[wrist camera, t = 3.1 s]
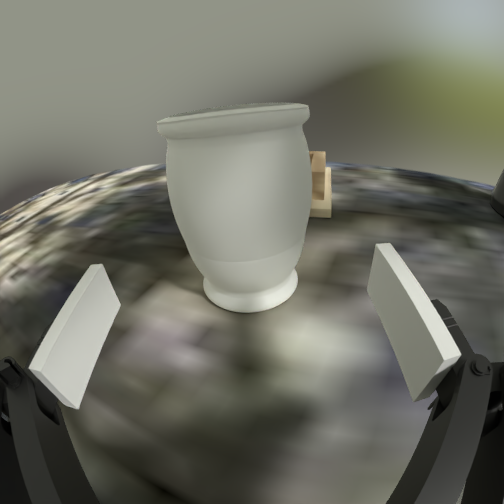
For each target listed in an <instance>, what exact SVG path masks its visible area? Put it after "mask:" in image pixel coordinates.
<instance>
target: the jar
mask: <svg viewBox="0 0 504 504" xmlns="http://www.w3.org/2000/svg"><path fill="white" fill-rule="evenodd" d="M308 107H309V106H308V105H303V104H297V103H255V104H242V105H232V106H223V107H215V108H209V109H203V110H197V111H191V112H186V113H182V114H177V115H173V116H170V117H167V118H165V119H162V120H160V121H157V122H156V123H157V124H158V125H157V131H158V133H159V134H160V135H161V136H163V137H165V138H167V143H168V147H167V156H166V175H167V186H168V193H169V198H170V203H171V207H172V211H173V214H174V217H175V220H176V223H177V225H178V228H179V230H180V232H181V235H182V237H183V239H184V241H185V243H186V246H187V249H188V251H189V254H190V256H191V258H192V260H193V262H194V263H195V265H196V267H197V268H198V269H199V271H200V272H201V273H202V275H203V276H204V280H203V287H204V291H205V293H206V295H207V297H208V298H209V299H210V300H211V301H212V302H213V303H215V304H216V305H218V306H219V307H222V308H224V309H227V310H230V311H235V312H244V313H251V312H260V311H264V310H268V309H271V308H273V307H276V306H278V305H280V304H281V303H283V302H284V301H286V300H287V299H288V298H289V297H290V296H291V295H292V294H293V292H294V291H295V289H296V286H297V282H298V277H297V272H296V270H295V266H296V264H297V262H298V260H299V258H300V256H301V253H302V249H303V245H304V241H305V235H306V227H307V223H308V219H309V215H310V209H311V201H312V171H311V162H310V156H309V150H308V146H307V143H306V139H305V136H304V134H303V130H302V124H303V123H304V122H306V121H307V119H308V118H309V116H310V111H309V108H308Z"/></svg>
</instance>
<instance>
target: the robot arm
mask: <svg viewBox="0 0 504 504" xmlns="http://www.w3.org/2000/svg"><path fill="white" fill-rule="evenodd" d="M490 204H491V205H492V207H493V208H494V209H495V210H496V211H497V212H498V213H499V214H501V215H502V216H503V217H504V170H503V171H502V174H501V176H500V178H499V180H498V182H497V184H496V186H495V188H494V189H493V191H492V195H491V199H490ZM367 292H368V294H369V296H370V298H371V300H372V302H373V304H374V307H375V309H376V311H377V313H378V315H379V318H380V320H381V322H382V324H383V327H384V329H385V331H386V333H387V336H388V338H389V341H390V343H391V345H392V348H393V350H394V353H395V355H396V358H397V360H398V363H399V365H400V368H401V370H402V373H403V376H404V378H405V381H406V384H407V386H408V389H409V392H410V395H411V397H412V400H413V402H416V401H419V400H422V399H425V398H428V397H430V396H431V394H432V393H433V392H434V391H435V389H436V391H437V393H438V396H437V397H436V399H435V400H434V401H433V402H432V403H431V404H430V406H429V407H428V410H430V409H431V408H432V407H433V408H432V411H431V414H430V416H429V419H428V422H427V424H426V427H425V429H424V432H423V434H422V436H421V439H420V441H419V443H418V445H417V448H416V450H415V452H414V454H413V456H412V458H411V460H410V462H409V464H408V466H407V468H406V470H405V472H404V474H403V476H402V477H401V479H400V481H399V483H398V485H397V486H396V488H395V490H394V491H393V493H392V495H391V496H390V498H389V500H388V501H387V503H386V504H456V502H457V500H458V498H459V496H460V494H461V491H462V489H463V487H464V484H465V482H466V484H465V488H464V493H463V497H462V501H461V504H504V362H497V363H490V361H489V360H488V359H487V358H486V357H484V356H483V355H480V354H475V353H474V352H473V350H472V349H471V347H470V345H469V343H468V342H467V340H466V338H465V336H464V335H463V333H462V331H461V330H460V328H459V326H457V323H456V321H455V320H454V318H452V315H451V313H450V312H449V310H448V309H447V307H446V306H445V305H443V304H442V303H441V302H440V301H439V300H437V299H436V300H431V301H430V300H429V298H428V296H427V295H426V293H425V292H424V290H423V289H422V287H421V286H420V284H419V283H418V281H417V280H416V278H415V277H414V276H413V274H412V273H411V271H410V270H409V268H408V267H407V266H406V264H405V263H404V261H403V260H402V259H401V257H400V256H399V255H398V253H397V252H396V250H395V249H394V248H393V246H392V245H391V244H390V243H383V244H376V245H375V251H374V257H373V262H372V267H371V272H370V277H369V282H368V287H367ZM120 306H121V304H120V302H119V300H118V298H117V296H116V294H115V291H114V289H113V287H112V285H111V283H110V280H109V278H108V276H107V273H106V271H105V269H104V266H103V264H94V265H90V267H89V268H88V270H87V271H86V273H85V274H84V275H83V277H82V278H81V280H80V281H79V283H78V284H77V286H76V287H75V289H74V290H73V292H72V293H71V295H70V296H69V298H68V299H67V301H66V302H65V304H64V306H63V307H62V309H61V310H60V312H59V314H58V315H57V317H56V319H55V320H54V321H53V322H52V323H51V324H50V325H49V326H48V327H47V328H46V329H45V331H44V332H43V334H42V336H41V339H40V340H39V341H38V343H37V345H36V347H35V349H34V350H33V352H32V354H31V356H30V358H29V360H28V362H27V364H26V366H25V368H24V370H23V369H22V368H21V367H20V366H19V365H18V364H17V362H16V361H15V360H14V359H13V358H12V357H5V358H3V359H2V360H1V361H0V504H100V503H99V501H98V499H97V497H96V496H95V494H94V492H93V490H92V488H91V486H90V484H89V482H88V480H87V478H86V475H85V473H84V471H83V469H82V467H81V464H80V462H79V460H78V457H77V455H76V452H75V450H74V447H73V445H72V442H71V439H70V437H69V434H68V431H67V428H66V425H65V422H64V419H63V416H62V412H61V409H60V407H59V405H58V404H57V401H58V399H59V400H60V401H61V402H62V403H63V404H64V405H66V406H68V407H72V408H75V409H79V406H80V403H81V400H82V398H83V395H84V392H85V389H86V386H87V384H88V381H89V378H90V376H91V373H92V371H93V368H94V365H95V363H96V360H97V358H98V356H99V353H100V351H101V348H102V346H103V344H104V341H105V339H106V337H107V334H108V332H109V330H110V327H111V325H112V323H113V321H114V319H115V316H116V314H117V312H118V310H119V308H120ZM501 404H502V408H501ZM2 412H3V413H4V414H5V415H6V416H8V422H7V421H5V420H4V419H3V418H2V417H1V414H2Z"/></svg>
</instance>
